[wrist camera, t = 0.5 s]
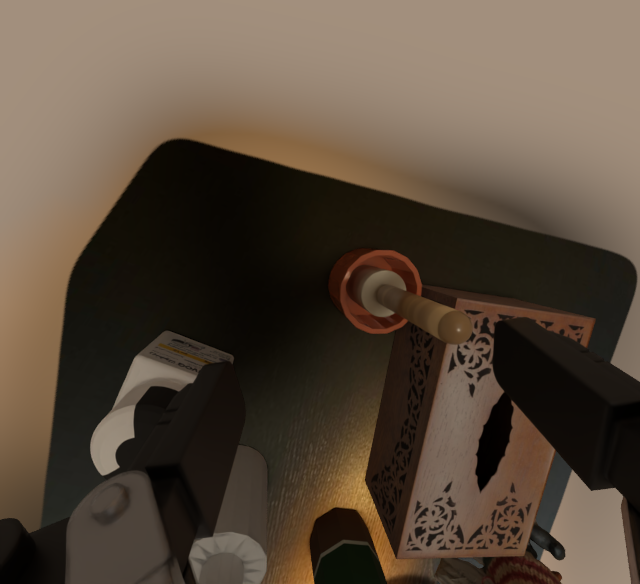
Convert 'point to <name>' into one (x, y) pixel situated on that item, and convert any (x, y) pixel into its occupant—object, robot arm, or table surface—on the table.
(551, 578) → the figurine
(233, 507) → the white plastic bottle
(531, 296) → the table surface
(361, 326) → the brush holder
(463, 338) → the tan piece
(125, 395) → the container
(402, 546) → the tissue box cover
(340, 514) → the beer bottle
